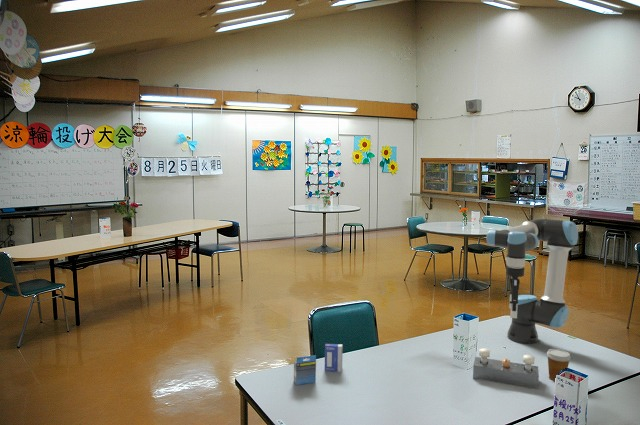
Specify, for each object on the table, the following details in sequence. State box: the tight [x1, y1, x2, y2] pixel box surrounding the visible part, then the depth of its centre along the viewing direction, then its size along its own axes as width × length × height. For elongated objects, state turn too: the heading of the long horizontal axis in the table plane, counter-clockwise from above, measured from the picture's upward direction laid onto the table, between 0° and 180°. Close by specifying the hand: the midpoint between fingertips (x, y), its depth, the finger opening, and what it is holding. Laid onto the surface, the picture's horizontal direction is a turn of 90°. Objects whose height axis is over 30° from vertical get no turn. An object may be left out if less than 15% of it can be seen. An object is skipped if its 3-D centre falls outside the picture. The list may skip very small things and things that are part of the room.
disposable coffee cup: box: [546, 348, 572, 382], centre depth 215 cm, size 10×10×12 cm
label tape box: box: [293, 354, 317, 386], centre depth 210 cm, size 9×4×12 cm, turn 109°
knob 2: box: [522, 354, 536, 371], centre depth 211 cm, size 4×4×8 cm
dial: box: [501, 358, 511, 367], centre depth 214 cm, size 3×3×3 cm
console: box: [472, 356, 540, 391], centre depth 215 cm, size 10×26×6 cm, turn 68°
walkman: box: [324, 343, 344, 373], centre depth 222 cm, size 8×3×12 cm, turn 85°
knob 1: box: [478, 347, 491, 364], centre depth 218 cm, size 4×4×8 cm
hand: (512, 313), depth 221 cm, fingers open, 13 cm apart
